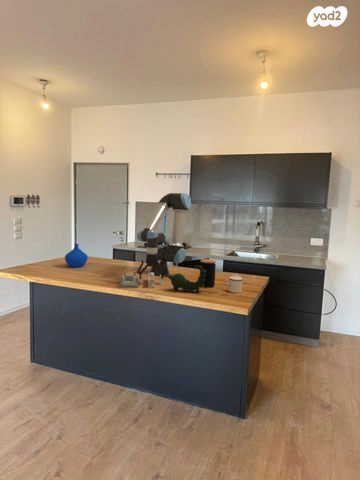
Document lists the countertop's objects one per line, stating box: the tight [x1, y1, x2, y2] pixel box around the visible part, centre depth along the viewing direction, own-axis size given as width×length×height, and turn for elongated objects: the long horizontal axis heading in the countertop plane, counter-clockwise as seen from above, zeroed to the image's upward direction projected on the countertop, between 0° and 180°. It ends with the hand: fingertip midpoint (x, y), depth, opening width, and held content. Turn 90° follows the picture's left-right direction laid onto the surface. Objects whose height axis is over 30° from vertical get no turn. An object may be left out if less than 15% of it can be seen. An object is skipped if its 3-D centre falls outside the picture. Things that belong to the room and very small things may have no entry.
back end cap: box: [123, 270, 137, 279], centre depth 238 cm, size 8×3×6 cm, turn 97°
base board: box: [119, 277, 139, 289], centre depth 229 cm, size 12×22×2 cm, turn 7°
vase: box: [64, 243, 89, 268], centre depth 279 cm, size 18×18×19 cm
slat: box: [147, 271, 156, 289], centre depth 231 cm, size 4×22×6 cm, turn 6°
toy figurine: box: [166, 265, 206, 293], centre depth 215 cm, size 9×19×25 cm
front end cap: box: [122, 275, 137, 285], centre depth 220 cm, size 8×3×6 cm, turn 97°
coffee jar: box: [199, 258, 217, 288], centre depth 231 cm, size 11×11×18 cm
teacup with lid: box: [223, 273, 244, 294], centre depth 221 cm, size 12×9×12 cm
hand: (150, 283), depth 231 cm, fingers open, 12 cm apart
